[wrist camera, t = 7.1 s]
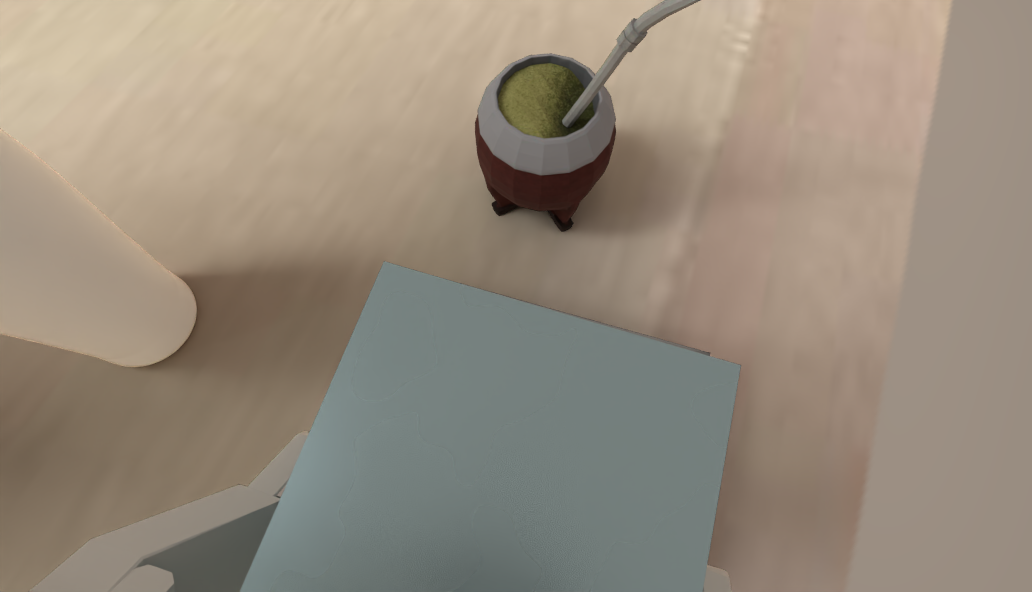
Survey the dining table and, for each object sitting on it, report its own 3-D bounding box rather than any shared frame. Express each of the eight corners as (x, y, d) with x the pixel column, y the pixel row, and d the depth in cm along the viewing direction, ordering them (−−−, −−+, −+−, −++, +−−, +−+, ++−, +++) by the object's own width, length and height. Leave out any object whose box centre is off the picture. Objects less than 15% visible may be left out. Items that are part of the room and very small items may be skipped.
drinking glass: (62, 324, 30) (-337, 162, 16) (168, 242, 32) (-107, 30, 18) (133, 410, 28) (-243, 313, 14) (241, 318, 30) (1, 151, 16)
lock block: (540, 776, 13) (587, 1274, 4) (342, 700, 13) (54, 1018, 5) (620, 443, 16) (741, 365, 7) (452, 390, 16) (384, 260, 8)
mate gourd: (461, 170, 33) (421, -75, 19) (573, 118, 35) (611, -145, 21) (521, 268, 31) (526, 71, 17) (639, 208, 32) (731, -19, 18)
